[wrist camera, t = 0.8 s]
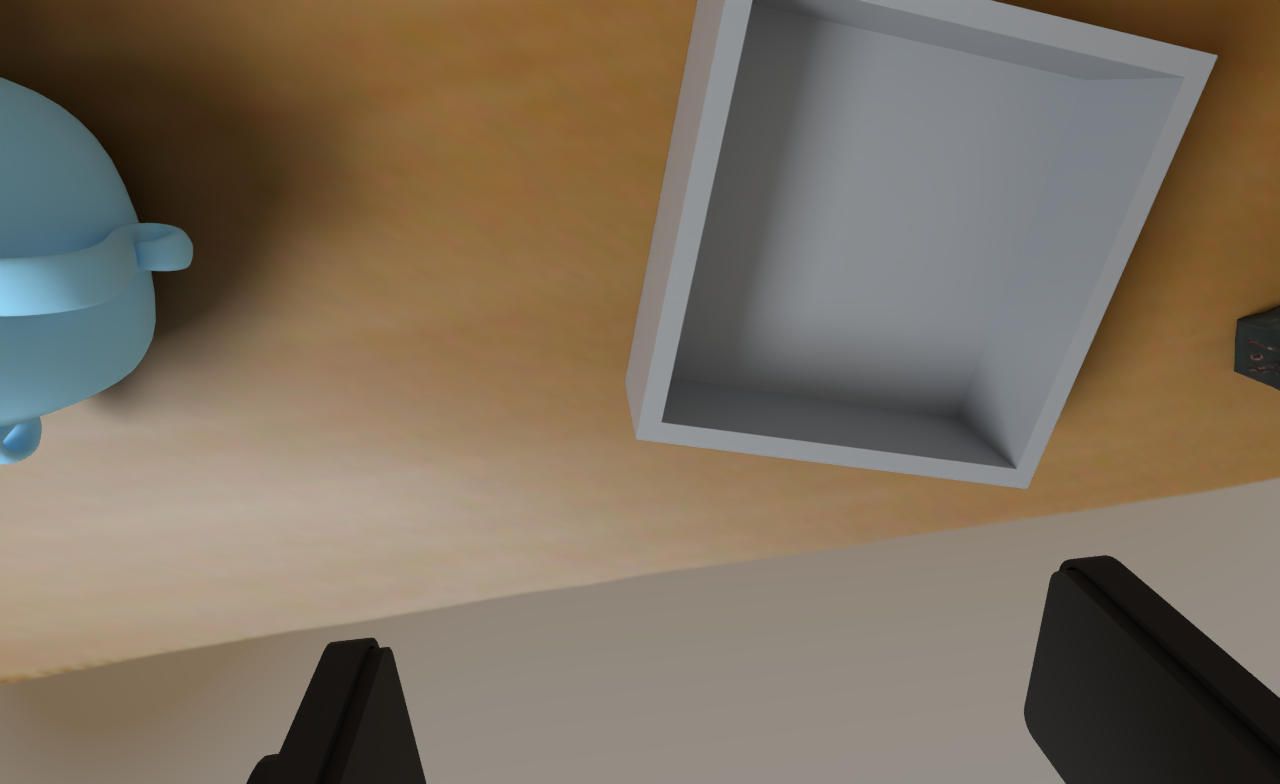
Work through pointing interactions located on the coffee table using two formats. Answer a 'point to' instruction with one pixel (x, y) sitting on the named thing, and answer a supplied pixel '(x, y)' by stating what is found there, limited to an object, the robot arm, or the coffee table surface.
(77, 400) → the decorative pot
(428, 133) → the coffee table surface
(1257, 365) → the ceramic cat
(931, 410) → the grey box
